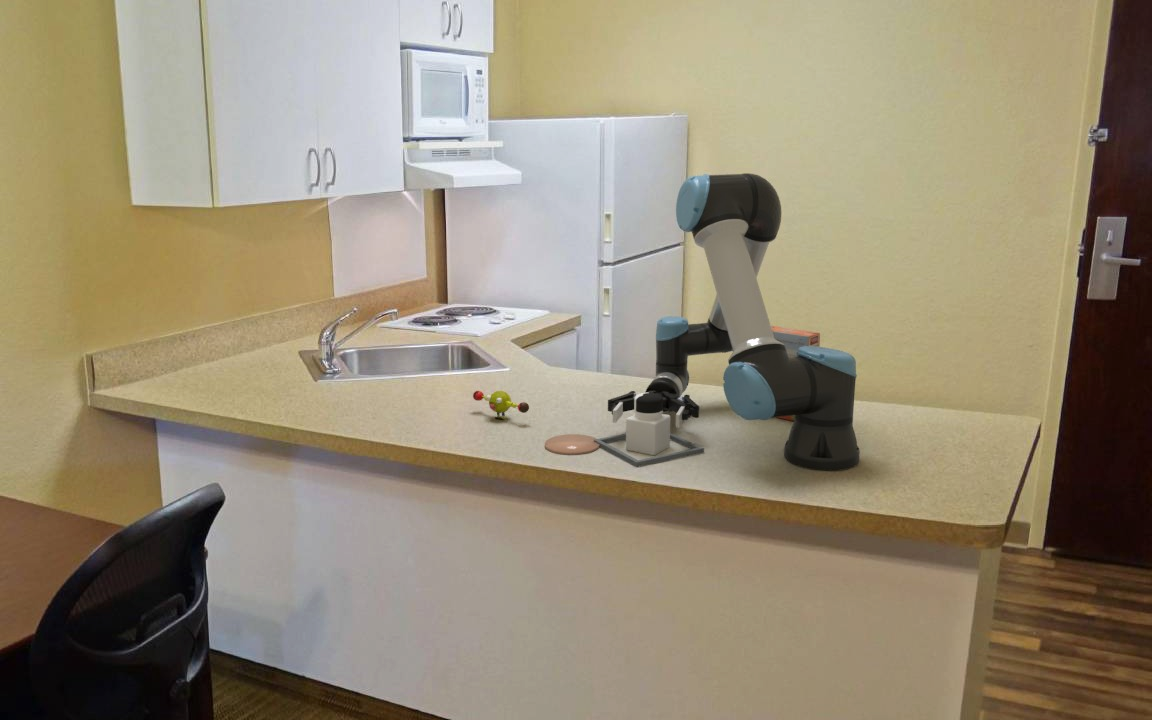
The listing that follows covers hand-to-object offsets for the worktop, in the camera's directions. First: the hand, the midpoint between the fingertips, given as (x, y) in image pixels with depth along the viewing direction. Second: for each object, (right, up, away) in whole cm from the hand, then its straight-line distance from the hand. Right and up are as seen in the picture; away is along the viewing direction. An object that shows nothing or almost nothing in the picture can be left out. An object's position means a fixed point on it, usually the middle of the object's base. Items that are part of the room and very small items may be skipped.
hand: (645, 418), depth 203 cm
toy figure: (-33, -2, +25) cm, 41 cm away
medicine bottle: (+1, -7, +3) cm, 8 cm away
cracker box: (+35, -1, +26) cm, 43 cm away
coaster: (-16, -6, +5) cm, 18 cm away
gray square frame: (+1, -7, +3) cm, 7 cm away
